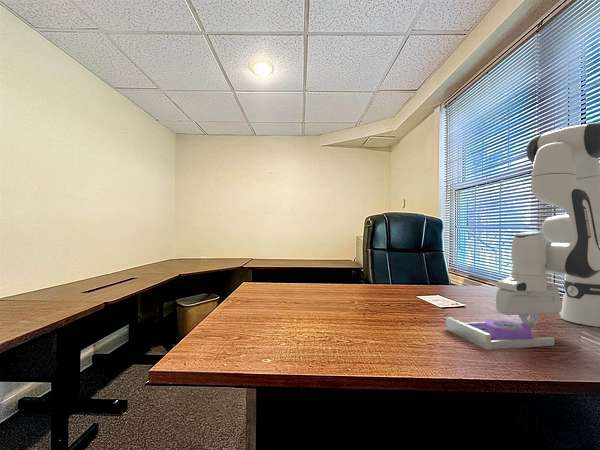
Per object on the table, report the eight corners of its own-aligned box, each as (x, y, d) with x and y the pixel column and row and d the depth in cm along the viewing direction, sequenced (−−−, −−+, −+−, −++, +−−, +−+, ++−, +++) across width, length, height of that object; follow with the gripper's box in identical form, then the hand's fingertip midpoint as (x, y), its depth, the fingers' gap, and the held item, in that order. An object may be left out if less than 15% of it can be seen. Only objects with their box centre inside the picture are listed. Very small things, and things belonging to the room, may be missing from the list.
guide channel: (504, 326, 103) (504, 315, 103) (554, 345, 86) (554, 331, 86) (446, 329, 99) (446, 317, 99) (486, 349, 82) (486, 334, 83)
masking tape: (476, 332, 97) (476, 320, 97) (504, 329, 100) (504, 318, 101) (511, 346, 86) (510, 332, 86) (541, 342, 89) (541, 329, 89)
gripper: (547, 281, 100) (547, 323, 99) (492, 282, 96) (492, 326, 96) (567, 284, 93) (567, 330, 93) (508, 285, 90) (509, 332, 90)
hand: (529, 328), depth 94 cm, fingers closed
